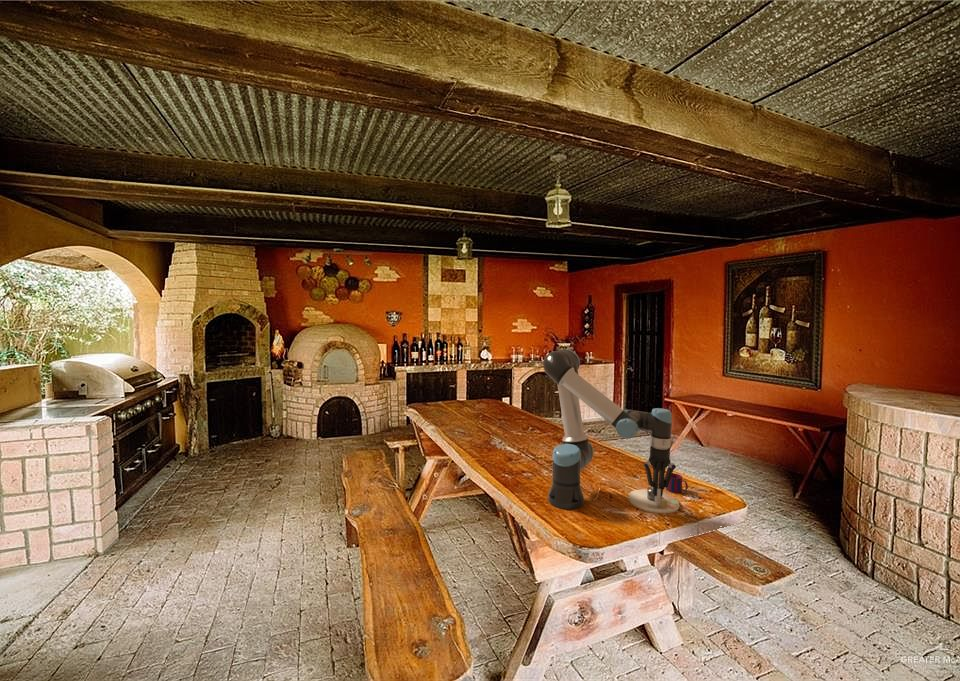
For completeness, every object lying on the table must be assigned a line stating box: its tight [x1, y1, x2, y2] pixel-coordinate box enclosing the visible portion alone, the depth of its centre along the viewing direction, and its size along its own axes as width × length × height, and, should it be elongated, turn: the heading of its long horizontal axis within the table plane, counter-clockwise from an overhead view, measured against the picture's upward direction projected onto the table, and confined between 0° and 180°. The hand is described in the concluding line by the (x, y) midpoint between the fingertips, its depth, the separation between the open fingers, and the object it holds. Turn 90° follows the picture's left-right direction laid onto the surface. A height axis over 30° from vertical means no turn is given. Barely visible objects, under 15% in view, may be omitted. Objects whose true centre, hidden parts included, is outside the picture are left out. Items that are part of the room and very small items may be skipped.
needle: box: [646, 486, 667, 509], centre depth 175 cm, size 12×5×4 cm, turn 2°
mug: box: [665, 472, 689, 494], centre depth 190 cm, size 7×10×7 cm
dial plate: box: [628, 488, 680, 514], centre depth 179 cm, size 20×20×2 cm
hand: (657, 503), depth 172 cm, fingers closed
